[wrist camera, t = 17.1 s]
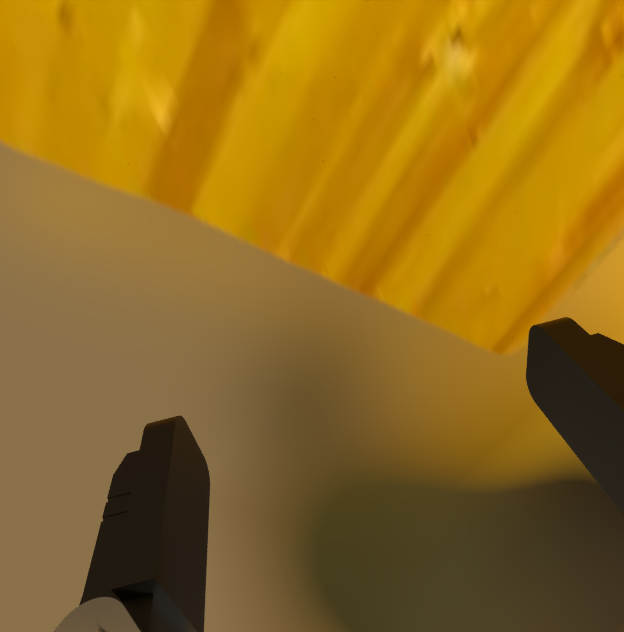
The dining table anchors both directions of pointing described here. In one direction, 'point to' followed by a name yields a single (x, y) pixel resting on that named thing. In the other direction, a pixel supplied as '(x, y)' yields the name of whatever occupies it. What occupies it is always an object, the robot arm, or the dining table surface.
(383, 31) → the dining table surface
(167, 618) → the robot arm
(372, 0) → the dining table surface
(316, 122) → the dining table surface
